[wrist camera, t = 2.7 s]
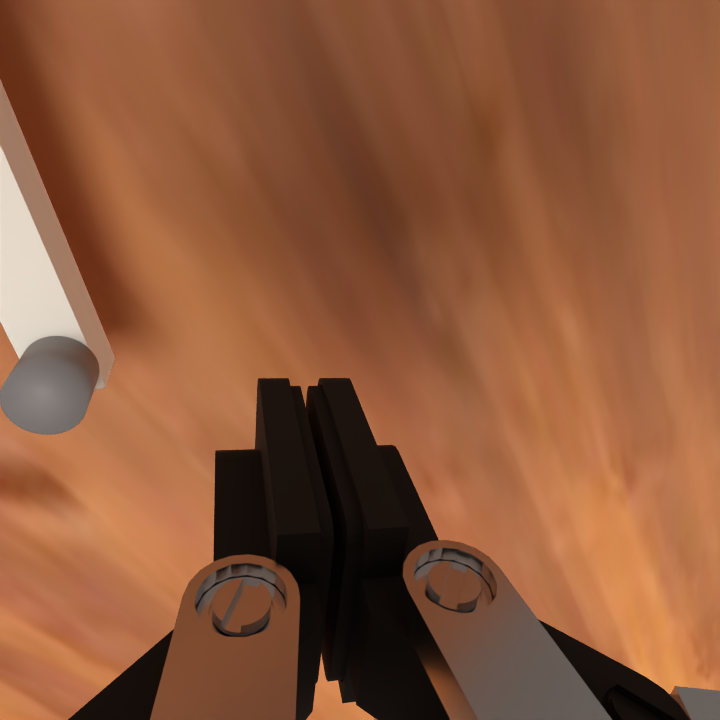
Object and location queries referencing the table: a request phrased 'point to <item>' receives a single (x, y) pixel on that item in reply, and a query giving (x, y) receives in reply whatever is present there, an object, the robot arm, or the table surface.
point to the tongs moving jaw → (43, 300)
